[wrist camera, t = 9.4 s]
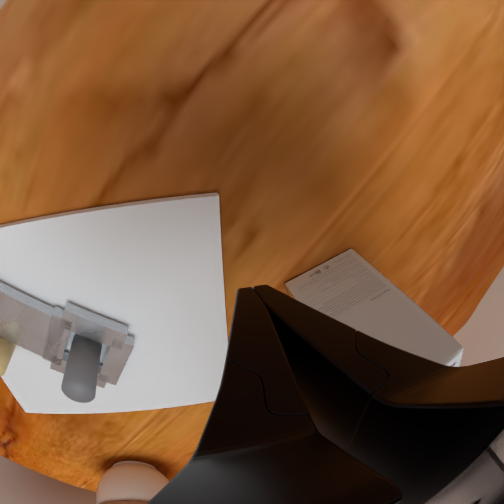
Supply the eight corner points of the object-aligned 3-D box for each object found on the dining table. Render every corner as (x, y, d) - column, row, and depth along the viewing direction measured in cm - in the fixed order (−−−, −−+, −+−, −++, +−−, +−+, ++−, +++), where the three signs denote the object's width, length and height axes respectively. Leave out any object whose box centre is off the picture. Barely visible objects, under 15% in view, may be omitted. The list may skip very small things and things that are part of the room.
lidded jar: (187, 462, 32) (201, 524, 24) (155, 488, 35) (164, 540, 26) (107, 444, 28) (109, 514, 19) (87, 473, 30) (88, 529, 22)
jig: (230, 391, 28) (245, 440, 23) (27, 406, 23) (17, 450, 18) (217, 192, 20) (237, 222, 15) (-56, 237, 14) (-95, 273, 9)
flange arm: (138, 329, 21) (137, 387, 16) (113, 382, 23) (111, 436, 18) (-29, 253, 15) (-67, 294, 10) (-33, 317, 16) (-60, 362, 12)
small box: (281, 282, 24) (372, 415, 13) (351, 245, 24) (468, 345, 13) (307, 346, 28) (377, 458, 17) (365, 314, 28) (449, 409, 17)
